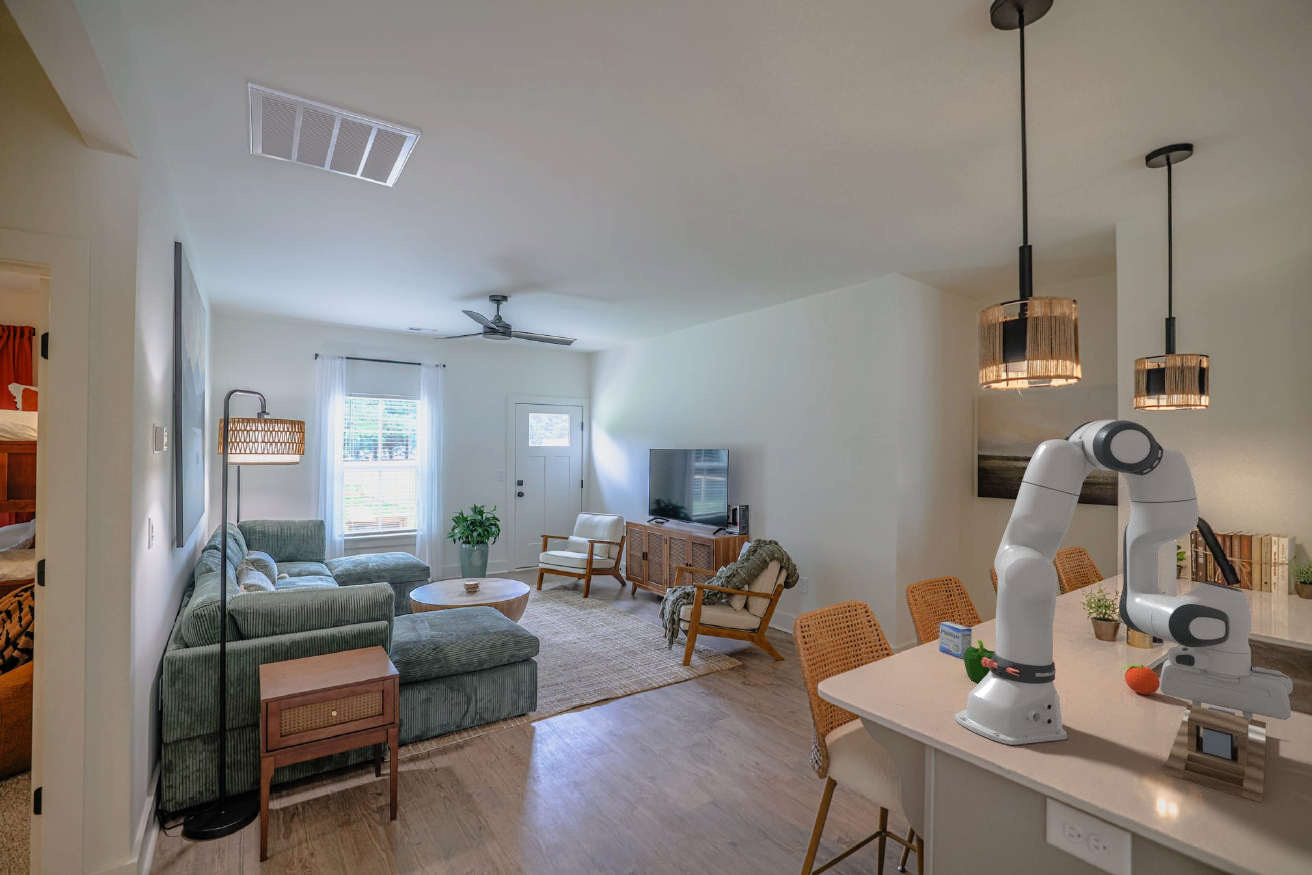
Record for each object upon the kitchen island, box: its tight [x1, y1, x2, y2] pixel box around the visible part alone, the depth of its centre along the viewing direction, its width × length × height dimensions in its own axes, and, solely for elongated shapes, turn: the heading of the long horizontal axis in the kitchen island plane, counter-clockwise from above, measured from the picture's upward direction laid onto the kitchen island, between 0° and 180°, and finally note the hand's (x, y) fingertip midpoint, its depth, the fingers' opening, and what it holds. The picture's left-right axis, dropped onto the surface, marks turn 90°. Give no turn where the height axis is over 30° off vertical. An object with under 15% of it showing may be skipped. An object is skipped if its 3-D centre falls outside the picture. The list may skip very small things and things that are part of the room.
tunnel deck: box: [1165, 703, 1267, 804], centre depth 124 cm, size 38×13×8 cm, turn 134°
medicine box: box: [938, 621, 973, 660], centre depth 183 cm, size 8×4×9 cm, turn 25°
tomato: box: [1119, 664, 1160, 696], centre depth 155 cm, size 8×7×7 cm
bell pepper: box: [963, 639, 995, 683], centre depth 161 cm, size 8×8×10 cm
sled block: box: [1203, 706, 1236, 759], centre depth 124 cm, size 16×4×4 cm, turn 134°
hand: (1221, 727), depth 128 cm, fingers open, 4 cm apart
